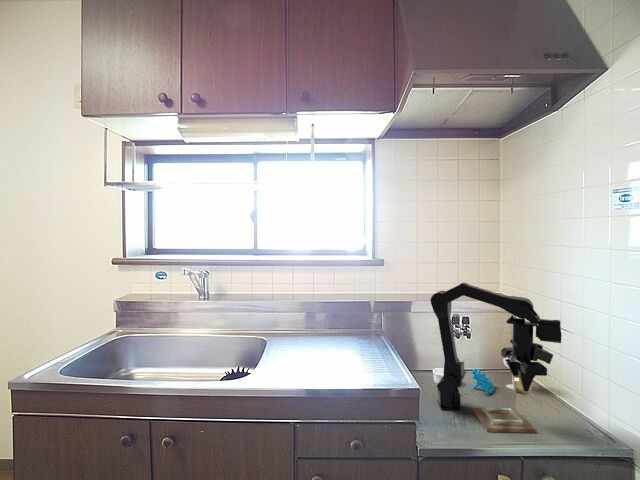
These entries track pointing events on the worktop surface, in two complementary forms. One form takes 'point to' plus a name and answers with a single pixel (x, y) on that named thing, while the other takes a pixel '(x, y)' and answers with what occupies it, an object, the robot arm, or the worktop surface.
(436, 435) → the worktop surface
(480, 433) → the worktop surface
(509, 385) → the wineglass
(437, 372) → the ramekin
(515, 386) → the tan two-tone cylinder
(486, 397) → the worktop surface
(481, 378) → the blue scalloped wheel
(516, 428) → the carrier board
